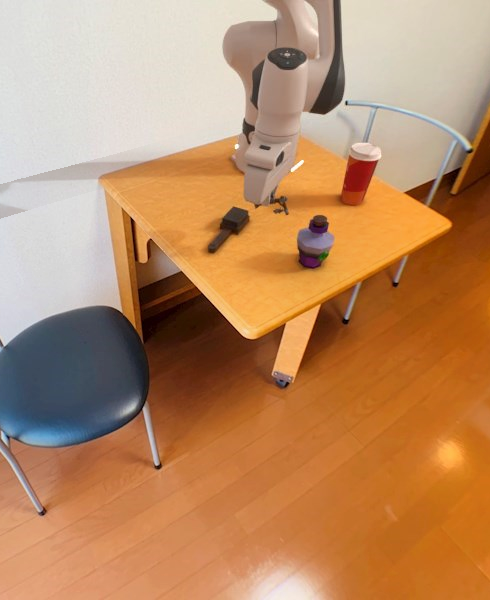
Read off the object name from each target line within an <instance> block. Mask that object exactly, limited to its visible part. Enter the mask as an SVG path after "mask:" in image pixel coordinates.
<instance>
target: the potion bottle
mask: <svg viewBox="0 0 490 600" xmlns="http://www.w3.org/2000/svg"><path fill="white" fill-rule="evenodd" d="M329 224H330V222H328V217H327V216H326V215H324V214H316V215H314V216H313V217H312V219H309V223H308V226H307V227H305V228H301V229H299V230H298V233H297V237H296V247H297V250H298V264H300V265H301V266H302V267H303V268H306V269H312V270H315V269H317V268H319V267H321V266H322V264H323V262H324V261H325V260H327V258H328V257H329V255H330V251H331V249H332V248H333V246H334V243H335V237H336V236H335V235H333V234H332V233H331V232H330V231H328V230H329V226H330V225H329Z"/></svg>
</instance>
